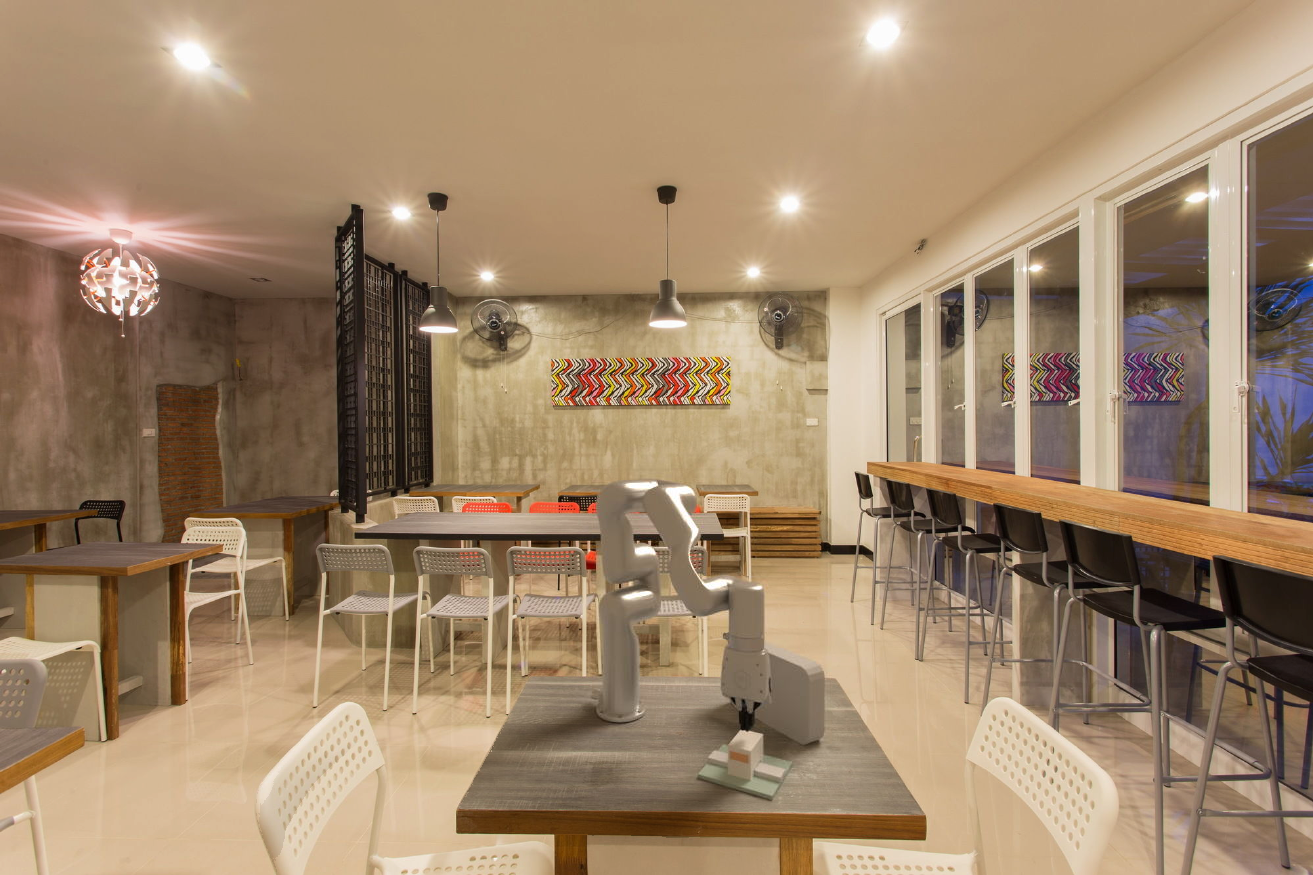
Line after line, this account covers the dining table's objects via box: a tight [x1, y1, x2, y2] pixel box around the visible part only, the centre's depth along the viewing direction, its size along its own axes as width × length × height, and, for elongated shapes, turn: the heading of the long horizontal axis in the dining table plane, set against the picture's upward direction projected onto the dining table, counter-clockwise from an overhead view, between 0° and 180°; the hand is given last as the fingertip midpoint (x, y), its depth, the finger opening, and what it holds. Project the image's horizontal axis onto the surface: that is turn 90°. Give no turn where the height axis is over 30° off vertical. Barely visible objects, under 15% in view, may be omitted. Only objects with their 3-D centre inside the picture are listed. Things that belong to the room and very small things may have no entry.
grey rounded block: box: [729, 640, 826, 746], centre depth 151 cm, size 29×8×18 cm, turn 33°
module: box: [727, 729, 764, 781], centre depth 128 cm, size 5×8×6 cm, turn 152°
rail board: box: [697, 743, 793, 801], centre depth 128 cm, size 16×14×2 cm
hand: (746, 728), depth 128 cm, fingers closed
